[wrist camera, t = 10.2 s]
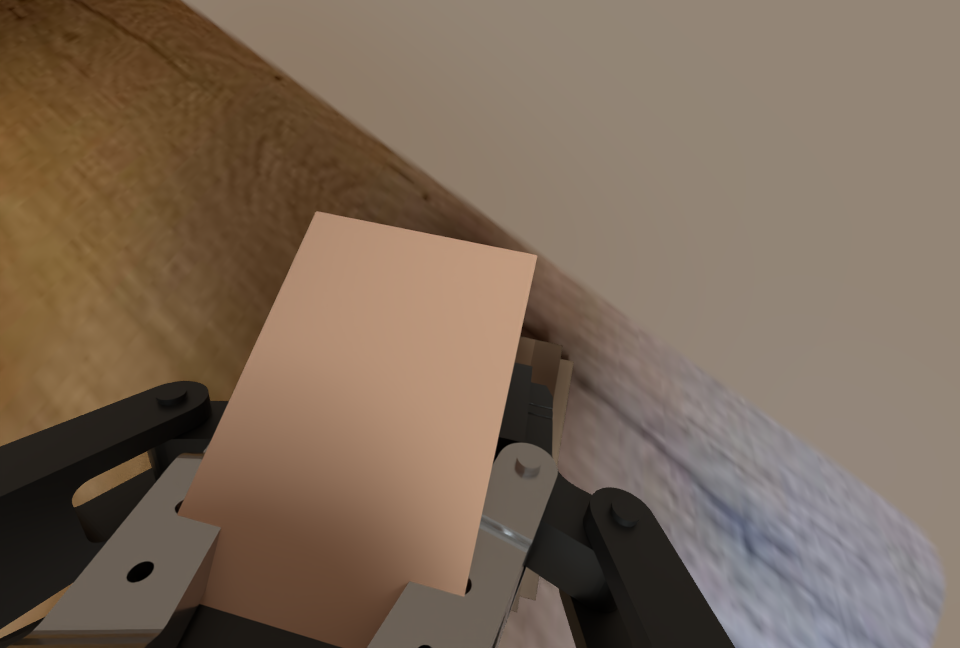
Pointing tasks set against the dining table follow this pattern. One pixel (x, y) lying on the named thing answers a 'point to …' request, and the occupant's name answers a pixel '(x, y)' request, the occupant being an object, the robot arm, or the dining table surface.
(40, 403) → the dining table surface
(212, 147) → the dining table surface
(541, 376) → the tray
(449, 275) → the clay block
